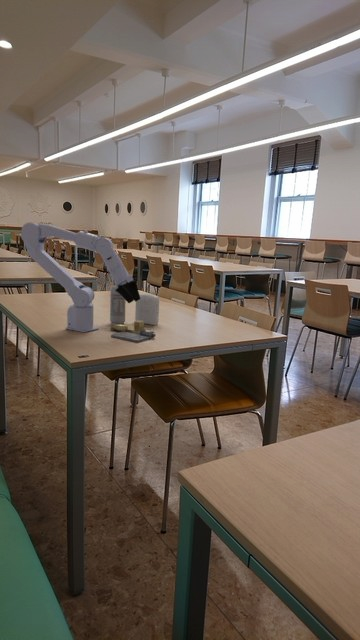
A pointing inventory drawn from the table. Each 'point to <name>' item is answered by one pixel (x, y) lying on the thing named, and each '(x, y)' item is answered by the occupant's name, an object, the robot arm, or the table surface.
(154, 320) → the photo printer
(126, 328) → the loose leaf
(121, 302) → the energy drink can
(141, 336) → the pin leaf
